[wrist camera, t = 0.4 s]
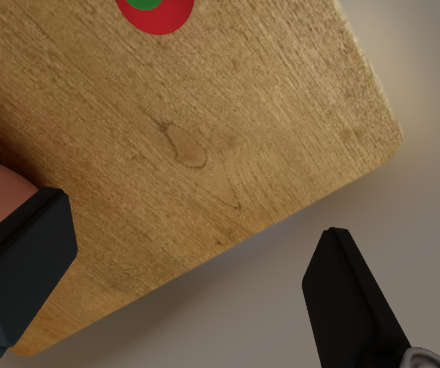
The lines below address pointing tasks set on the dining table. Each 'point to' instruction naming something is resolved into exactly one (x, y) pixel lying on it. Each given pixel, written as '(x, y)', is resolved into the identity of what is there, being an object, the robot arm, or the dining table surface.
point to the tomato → (156, 14)
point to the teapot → (13, 191)
